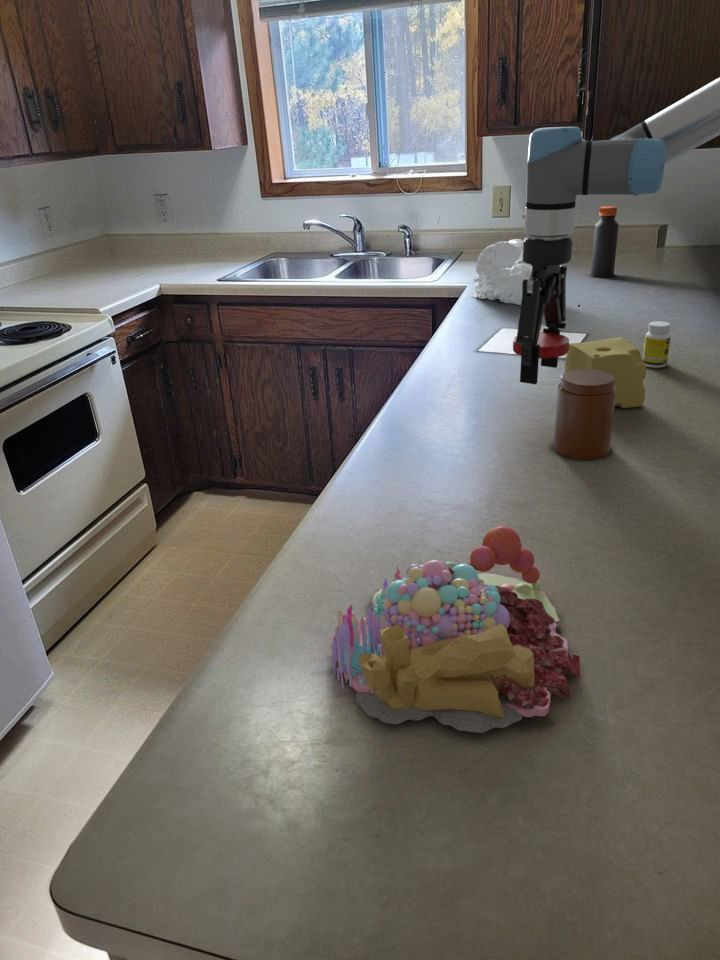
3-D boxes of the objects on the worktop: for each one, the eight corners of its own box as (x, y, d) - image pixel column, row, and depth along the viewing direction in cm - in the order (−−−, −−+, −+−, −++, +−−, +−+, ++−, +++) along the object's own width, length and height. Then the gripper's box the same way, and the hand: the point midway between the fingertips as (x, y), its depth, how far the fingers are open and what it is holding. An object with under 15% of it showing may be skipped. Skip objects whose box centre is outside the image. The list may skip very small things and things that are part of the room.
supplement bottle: (667, 369, 146) (673, 327, 143) (641, 367, 148) (646, 326, 144) (666, 361, 150) (672, 321, 147) (641, 360, 152) (646, 320, 148)
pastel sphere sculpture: (613, 728, 63) (625, 641, 59) (339, 755, 62) (332, 669, 58) (529, 568, 85) (534, 498, 81) (327, 586, 84) (321, 516, 80)
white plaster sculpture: (554, 274, 189) (492, 230, 192) (509, 337, 200) (451, 294, 203) (568, 264, 205) (510, 224, 207) (526, 323, 216) (471, 284, 218)
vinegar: (587, 276, 228) (593, 208, 219) (595, 272, 233) (600, 205, 224) (609, 278, 225) (616, 208, 216) (616, 274, 230) (623, 206, 221)
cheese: (644, 407, 129) (651, 351, 124) (585, 413, 127) (590, 357, 123) (615, 388, 138) (621, 335, 133) (561, 394, 137) (565, 341, 132)
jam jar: (607, 438, 118) (614, 368, 112) (612, 460, 110) (620, 386, 105) (552, 436, 119) (557, 367, 114) (554, 458, 112) (559, 385, 107)
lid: (506, 355, 122) (507, 344, 121) (519, 341, 129) (520, 330, 128) (563, 360, 118) (563, 349, 117) (572, 345, 125) (573, 334, 125)
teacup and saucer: (517, 348, 164) (518, 330, 162) (526, 338, 170) (527, 321, 168) (557, 351, 160) (558, 332, 158) (564, 341, 167) (566, 323, 165)
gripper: (549, 225, 125) (540, 354, 135) (497, 246, 109) (492, 390, 119) (593, 227, 121) (581, 359, 131) (546, 248, 105) (537, 397, 115)
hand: (539, 374), depth 125 cm, fingers closed on lid, 9 cm apart
